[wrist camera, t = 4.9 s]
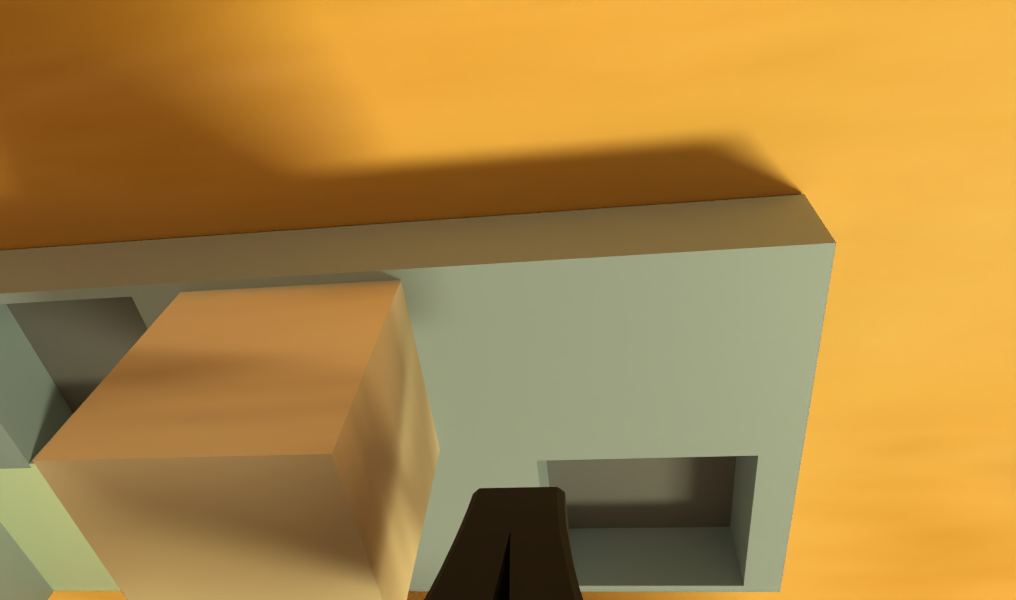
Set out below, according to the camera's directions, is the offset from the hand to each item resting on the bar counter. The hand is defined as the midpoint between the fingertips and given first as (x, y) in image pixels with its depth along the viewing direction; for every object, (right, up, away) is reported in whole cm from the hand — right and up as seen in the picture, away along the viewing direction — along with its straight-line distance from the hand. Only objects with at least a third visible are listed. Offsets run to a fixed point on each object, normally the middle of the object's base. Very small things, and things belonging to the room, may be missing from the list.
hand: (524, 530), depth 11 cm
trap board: (-4, +1, +7) cm, 8 cm away
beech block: (-4, +2, +4) cm, 6 cm away
